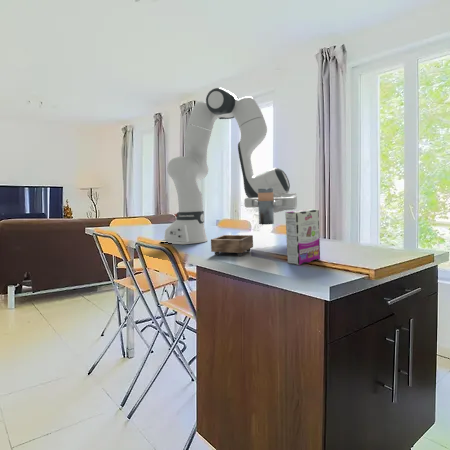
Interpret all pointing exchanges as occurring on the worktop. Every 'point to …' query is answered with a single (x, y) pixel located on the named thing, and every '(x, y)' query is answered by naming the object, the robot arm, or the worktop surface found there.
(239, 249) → the caster cart
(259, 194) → the slate tin
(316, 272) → the worktop surface
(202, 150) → the robot arm
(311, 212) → the candy bar box
